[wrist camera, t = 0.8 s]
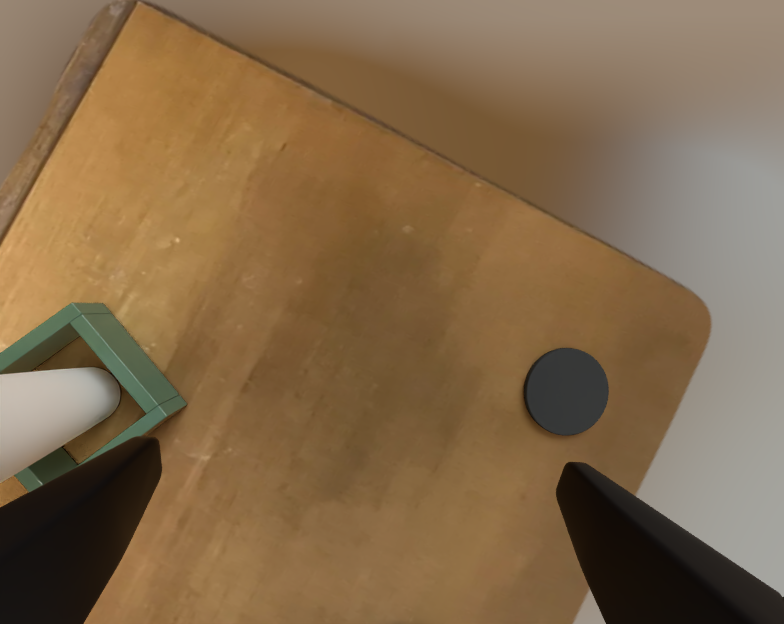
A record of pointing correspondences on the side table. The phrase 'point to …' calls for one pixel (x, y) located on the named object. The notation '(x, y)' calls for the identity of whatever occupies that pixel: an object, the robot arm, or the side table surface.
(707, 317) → the side table surface
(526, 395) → the coaster
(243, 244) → the side table surface
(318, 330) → the side table surface
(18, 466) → the cup
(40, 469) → the holder
